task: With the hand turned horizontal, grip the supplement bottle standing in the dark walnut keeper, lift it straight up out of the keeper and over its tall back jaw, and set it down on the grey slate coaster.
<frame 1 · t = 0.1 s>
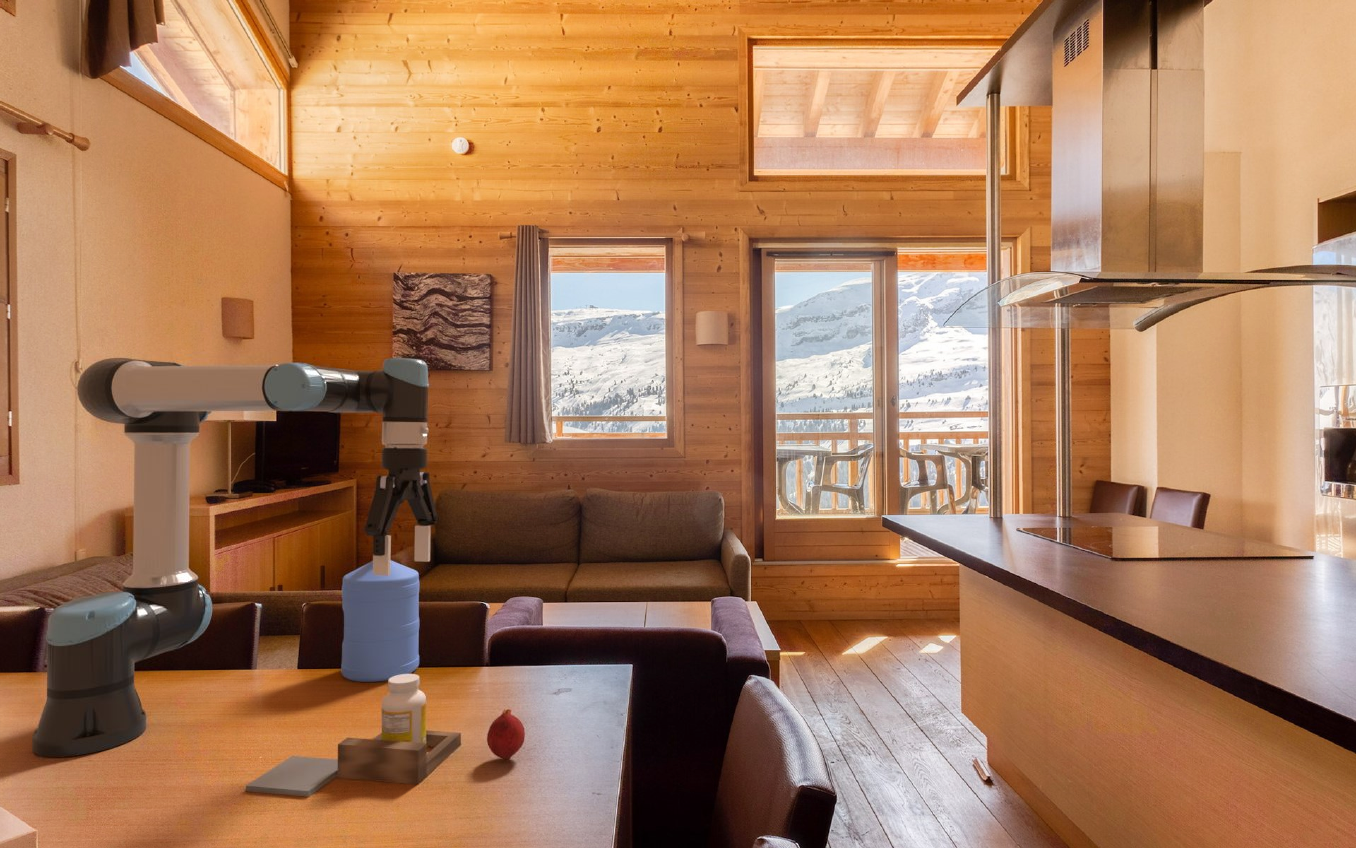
hand: (402, 567, 131), 28 cm above the table, tool pointing down, fingers open, 13 cm apart
supplement bottle: (403, 760, 119), resting in walnut keeper
walnut keeper: (403, 759, 119), on the table
water jug: (380, 672, 162), on the table
slate coaster: (300, 778, 112), on the table
onion: (505, 761, 118), on the table
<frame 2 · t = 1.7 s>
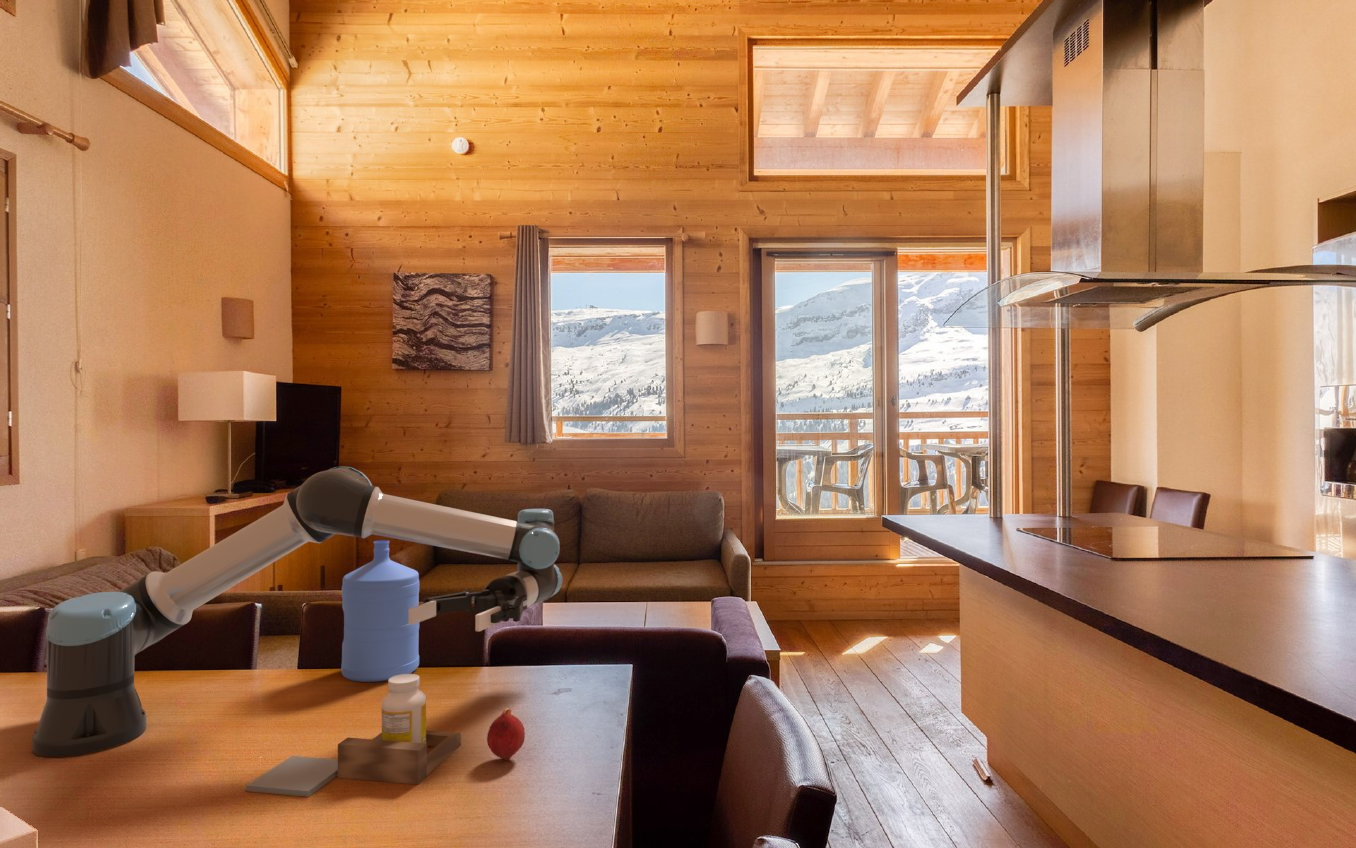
hand: (443, 620, 128), 20 cm above the table, tool horizontal, fingers open, 13 cm apart
nothing on the table moved.
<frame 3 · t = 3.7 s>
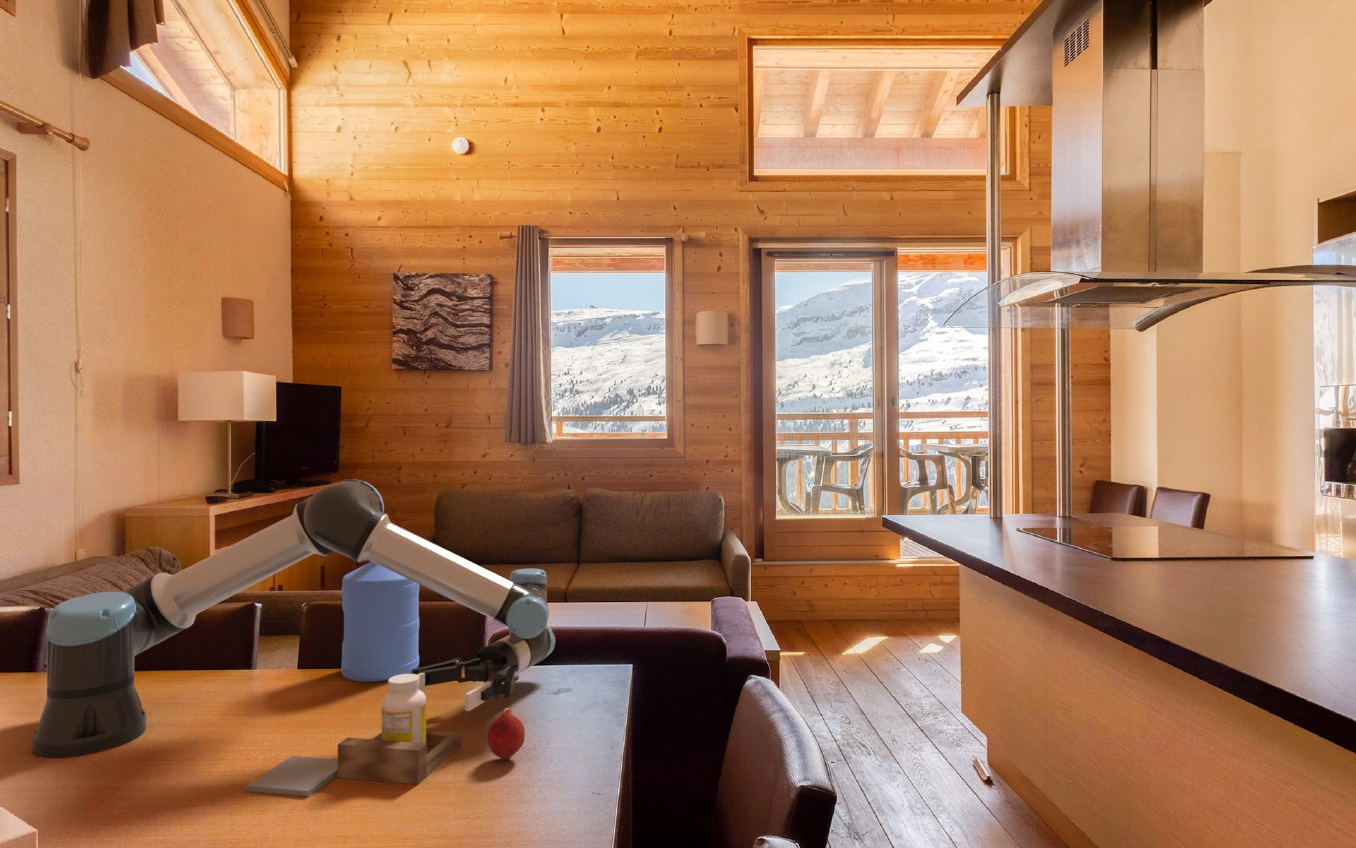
hand: (431, 697, 124), 8 cm above the table, tool horizontal, fingers open, 13 cm apart
nothing on the table moved.
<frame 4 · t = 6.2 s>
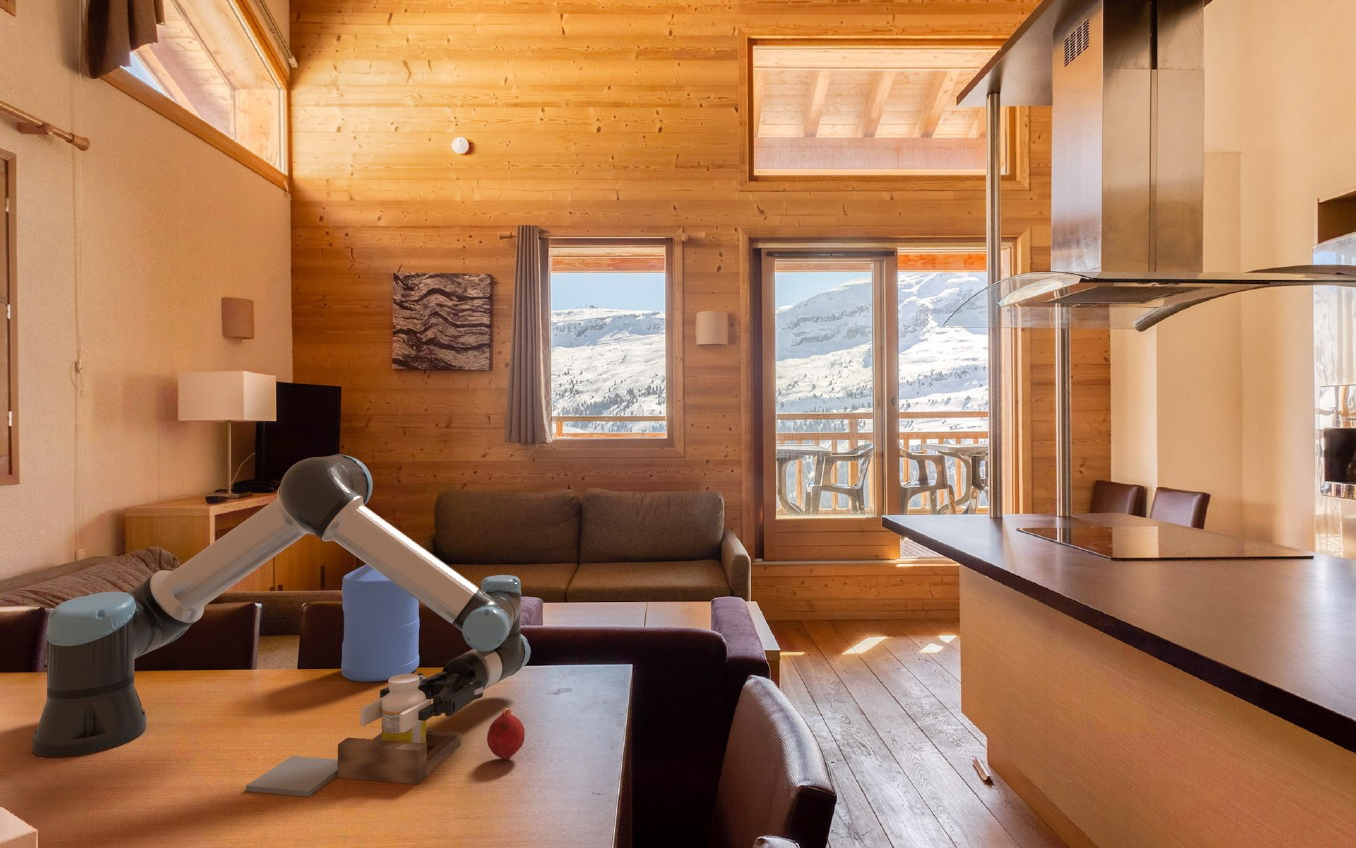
hand: (381, 720, 114), 8 cm above the table, tool horizontal, fingers closed on supplement bottle, 7 cm apart
supplement bottle: (404, 760, 119), resting in walnut keeper, touching gripper
everything else where it was.
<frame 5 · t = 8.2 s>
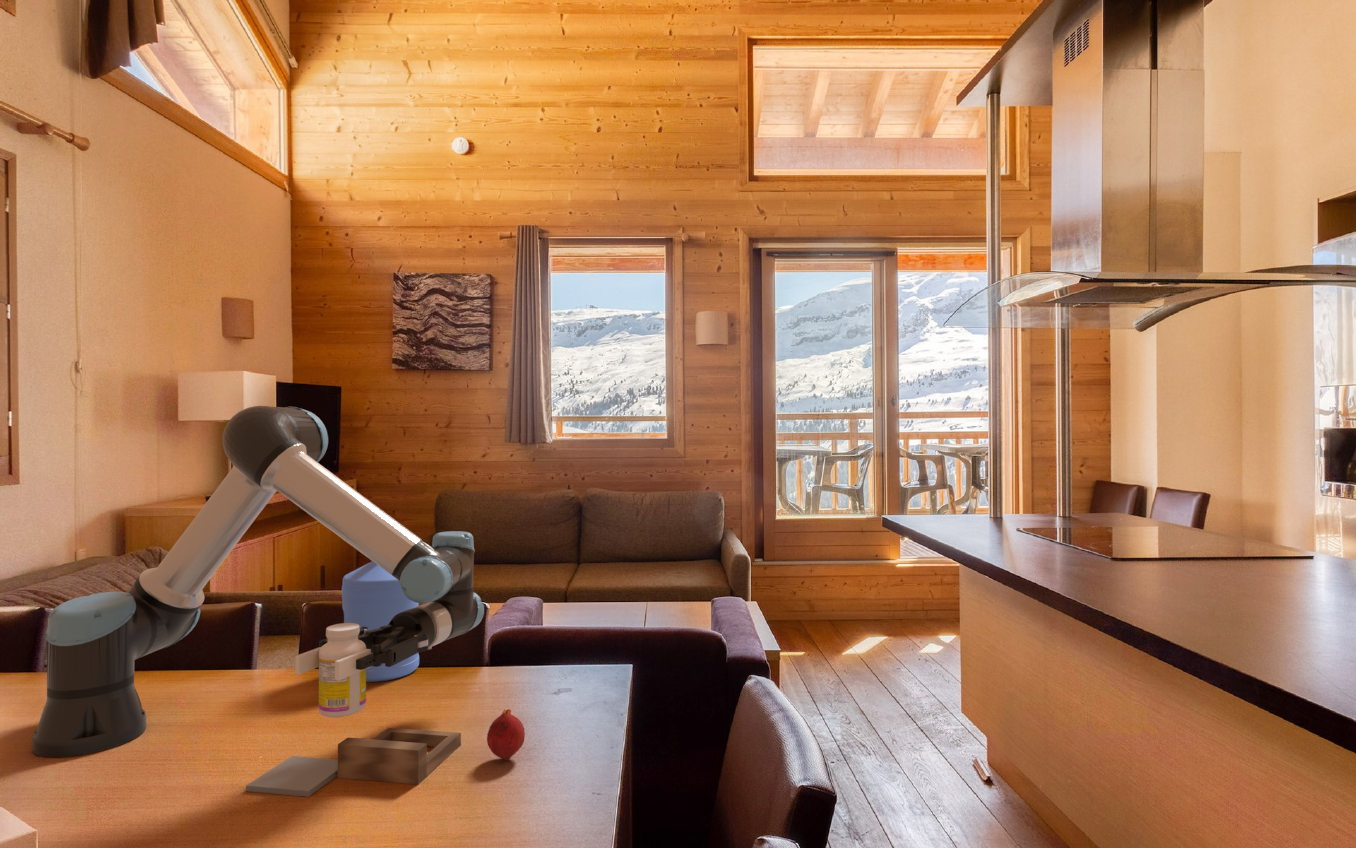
hand: (317, 668, 110), 17 cm above the table, tool horizontal, fingers closed on supplement bottle, 7 cm apart
supplement bottle: (342, 712, 114), point 9 cm above the table, touching gripper
everything else where it was.
when the fingers open (10 cm above the table, at t = 10.4 s): supplement bottle drops 1 cm, resting on slate coaster.
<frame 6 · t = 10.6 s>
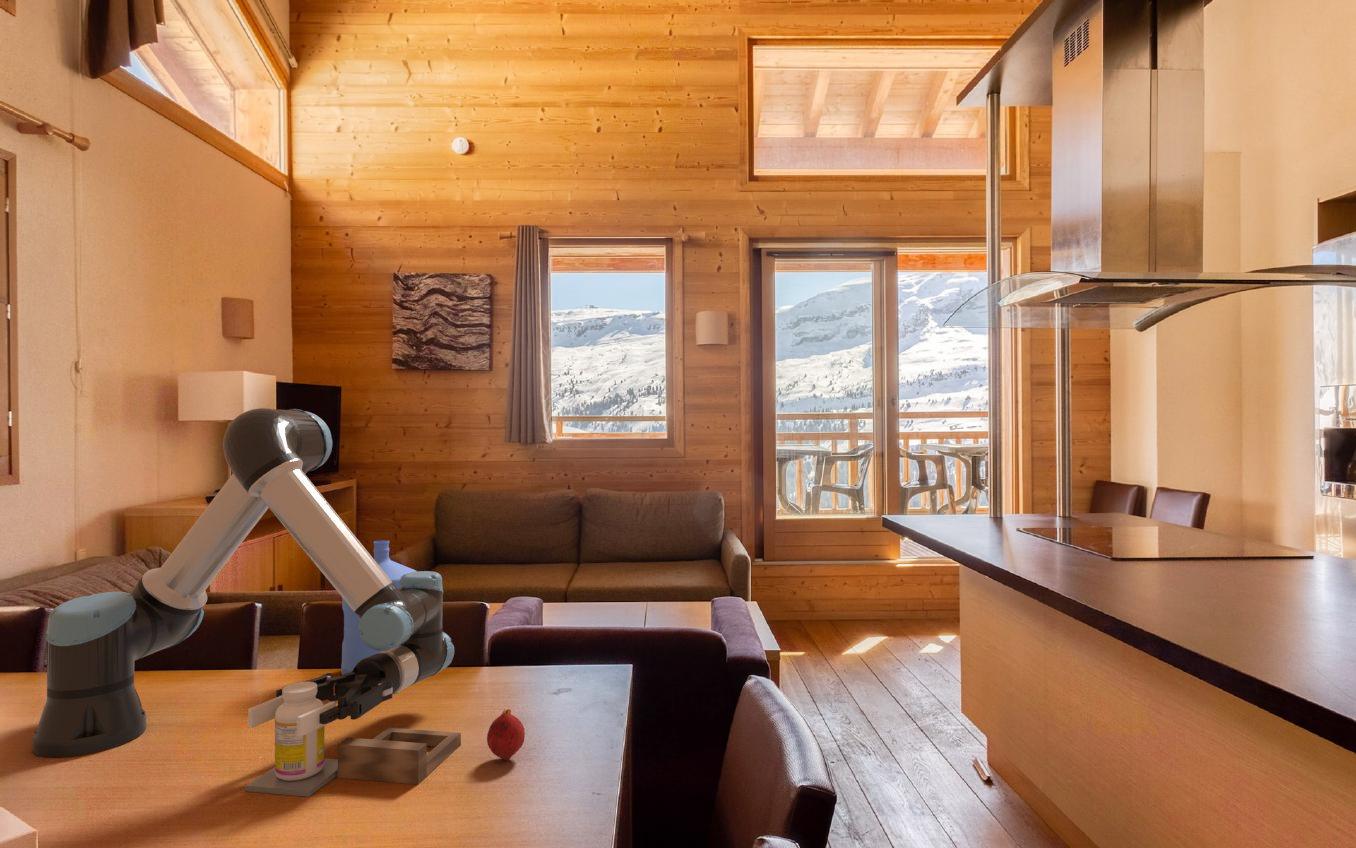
hand: (274, 722, 108), 10 cm above the table, tool horizontal, fingers open, 8 cm apart
supplement bottle: (299, 773, 112), point 1 cm above the table, touching slate coaster
everything else where it was.
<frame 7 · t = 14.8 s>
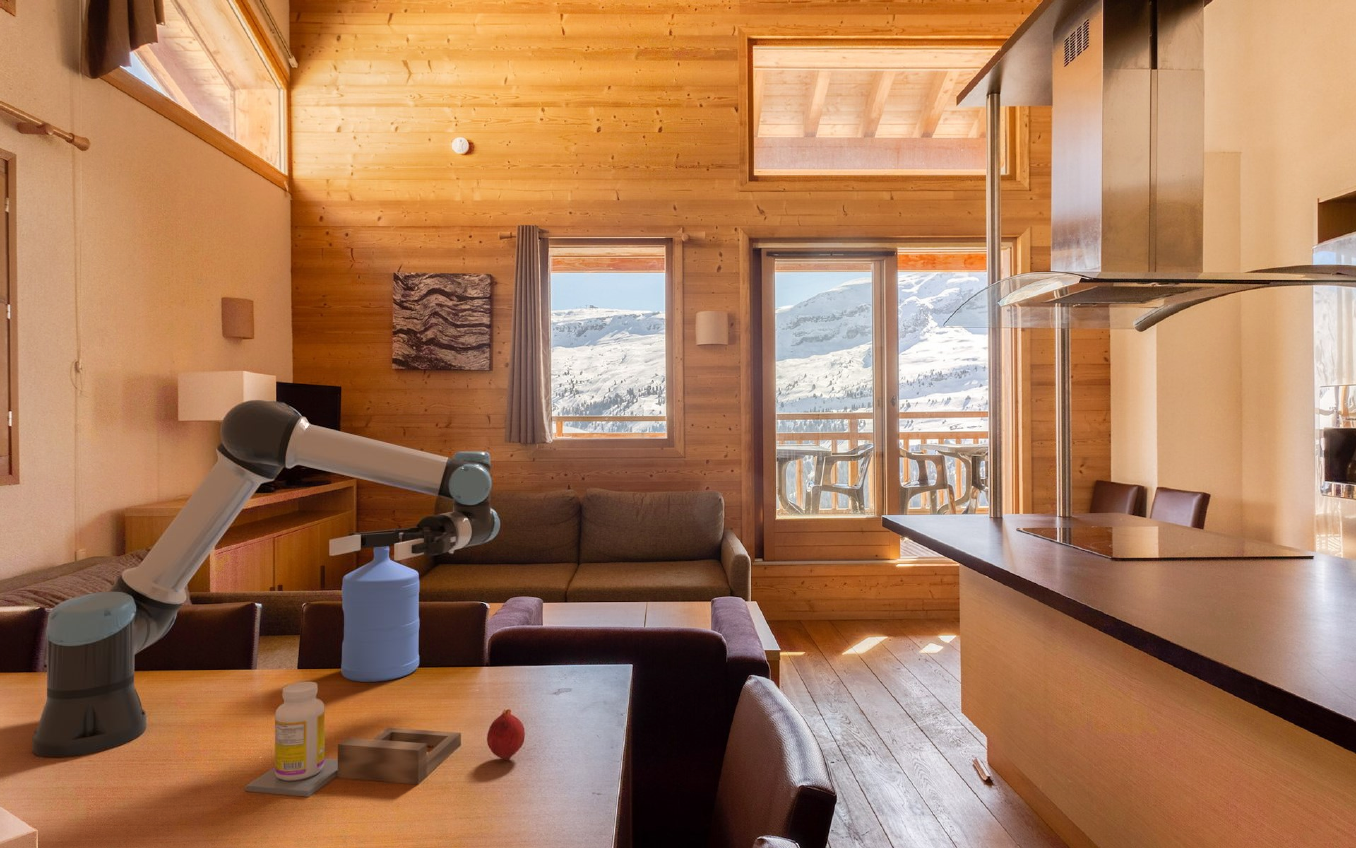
hand: (362, 549, 126), 32 cm above the table, tool horizontal, fingers open, 13 cm apart
nothing on the table moved.
at the end: supplement bottle inside the target area on the slate coaster (0.1 cm from its centre), point 0.6 cm above the slate coaster's base; supplement bottle tilted 0°; the gripper is holding nothing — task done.
